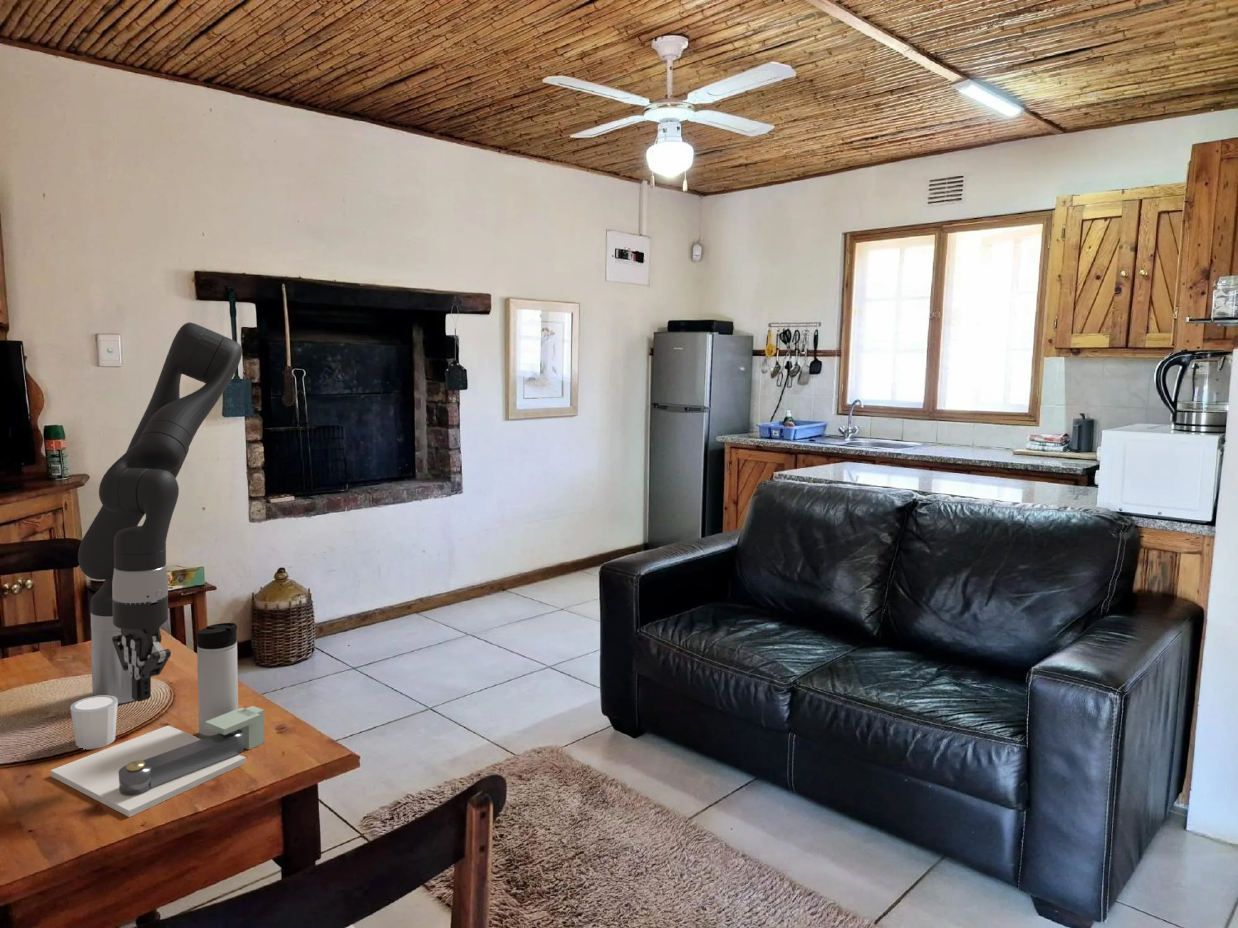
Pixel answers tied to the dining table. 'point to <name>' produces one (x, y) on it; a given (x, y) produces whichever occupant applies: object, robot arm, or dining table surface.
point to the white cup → (94, 721)
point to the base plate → (102, 768)
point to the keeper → (241, 725)
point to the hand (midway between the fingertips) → (141, 698)
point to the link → (178, 762)
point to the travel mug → (216, 673)
